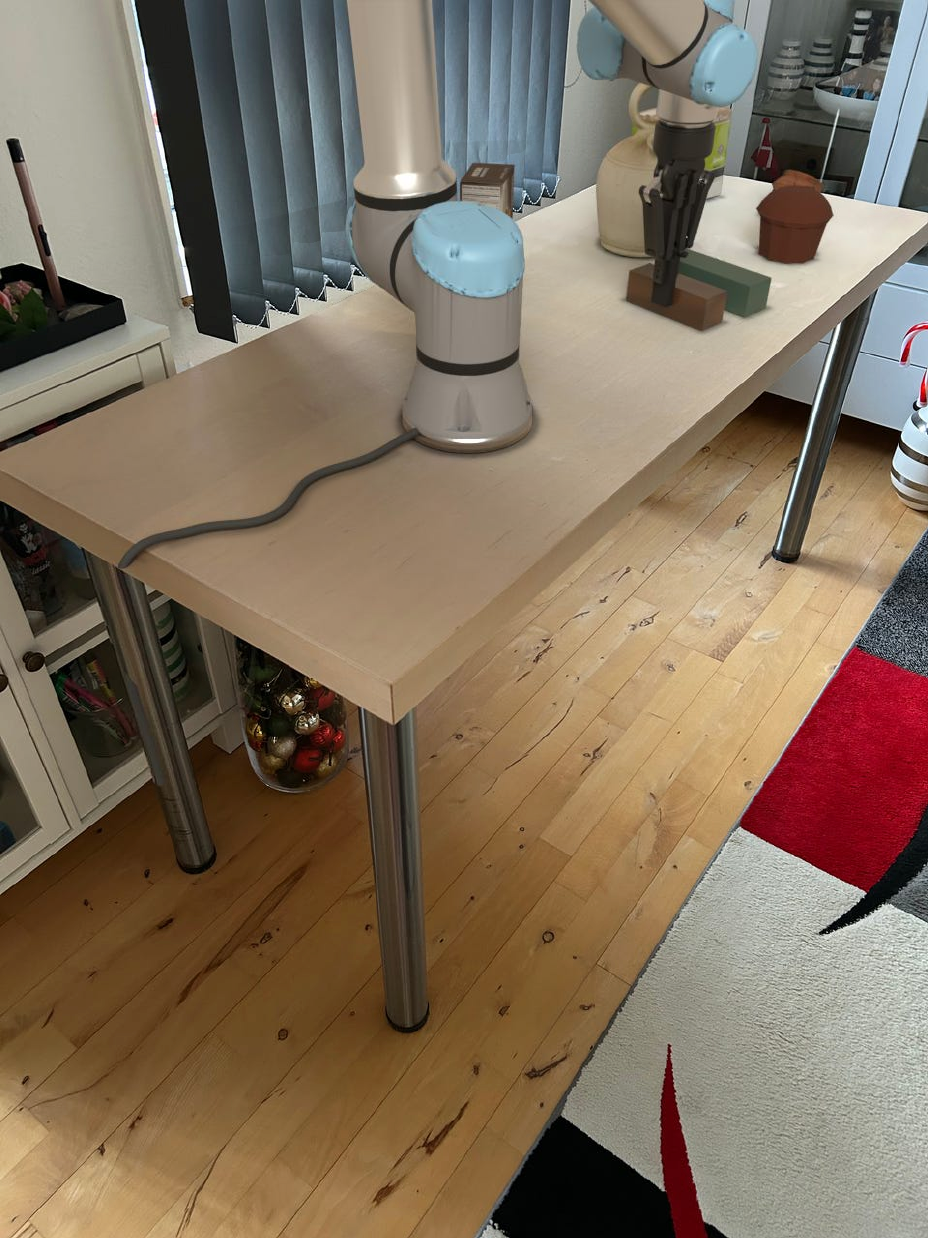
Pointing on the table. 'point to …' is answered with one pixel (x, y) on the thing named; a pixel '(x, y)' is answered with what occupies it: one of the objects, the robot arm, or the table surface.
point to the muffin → (792, 223)
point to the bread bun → (797, 180)
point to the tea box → (719, 146)
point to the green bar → (729, 282)
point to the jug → (626, 185)
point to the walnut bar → (679, 298)
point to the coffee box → (489, 186)
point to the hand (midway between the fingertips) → (661, 302)
